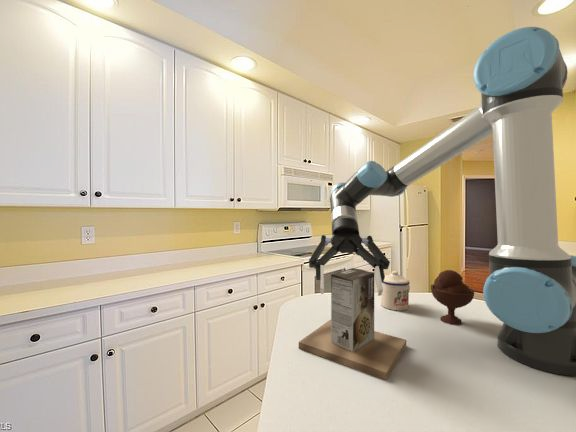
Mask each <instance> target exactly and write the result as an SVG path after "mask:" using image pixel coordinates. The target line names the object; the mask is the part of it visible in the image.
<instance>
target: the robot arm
mask: <svg viewBox="0 0 576 432" xmlns="http://www.w3.org/2000/svg"><path fill="white" fill-rule="evenodd" d="M472 76H473V77H472V78H473V82H474V85H475V88H476V89H477V91H478V92H479V93H481V95H480V96H481V97H480V98H481V100H480V103H479V105H478V106H477V107H476V108H474V109H473V110H471V111H470V112H468V113H467V114H465V115H464V116H463V117H462V118H460V119H459V120H457V121H456V122H454V123H453V124H452V125H450V126H448V127H447V128H446V129H445V130H443V131H442V132H440V133H439V134H437V135H436V136H435V137H433V138H432V139H430V140H428V141H427V142H426V143H425V144H424V145H421V146H420V147H419V148H418V149H416V150H415V151H413V152H412V153H410V154H409V155H407V156H406V157H405V158H404V159H402V160H400V161H399V162H398V163H396V164H395V165H394V166H392V167H391V168H389V169H388V170H385V168H384V166H382V165H381V164H380V163H377V162H376V161H375V160H369V161H367V162H365V163H364V164H363V165H362V166H360V167H359V168H358V169H357V170H356V171H355V172H354V173H353V175H352V176H351V177H349V178H348V179H347V180H346V181H345V182H339V183H337V184H334V185H333V186H332V187H331V189H330V194H329V203H330V214H331V215H330V217H331V218H330V220H331V221H330V222H331V237H327V236H326V235H325V234H322V235H321V237H320V242H319V243H318V245H317V247H316V248H315V250H313V253H312V254H311V256H310V258H309V259H308V267H309V268H311V269H312V268H313V269H315V279H316V281H320V295H324V294H325V277H324V275H325V274H324V273H325V270H324V269H325V267H324V266H325V265H326V264H327V263H329V262H330V260H331V259H332V258H333V257H334V256H336V255H337V254H339V253H340V254H353V253H354V254H355V255H357V256H359V257H360V258H362V259H363V260H364V261H365V262H367V263H368V265H370V266H371V267H372V268H373V269H374V271H373V272H374V282H375V285H376V292H377V293H376V294H377V296H380V297H381V295H382V292H383V286H382V282H383V281H384V279H385V276H386V275H385V271H384V270H388V269H389V266H390V263H391V262H390V260H389V259H388V258H387V256H386V255H385V254H384V253H383V252H382V250H381V249H380V248H379V246H378V245H376V243H375V242H374V240H373V236H371V235H367V236H366V237H365V238H364V237H362V236H361V235H360V229H359V221H358V216H357V215H358V214H357V206H358V205H359V204H360V203H362V202H363V201H364V200H365V199H366V198H367V197H369V196H381V197H391V198H392V197H398V196H400V195H402V194H404V193H405V192H406V190H407V187H408V186H410V185H412V184H413V183H416V182H417V181H418V180H420V179H421V178H424V177H425V176H427V175H428V174H430V173H431V172H433V171H435V170H436V169H438V168H440V167H442V166H443V165H445V164H446V163H448V162H449V161H451V160H453V159H454V158H456V157H458V156H459V155H460V154H462V153H464V152H466V151H468V150H469V149H471V148H472V147H474V146H475V145H477V144H478V143H481V142H482V141H485V140H486V139H487V138H489V137H491V136H492V144H493V145H492V147H493V170H494V186H495V187H494V189H495V190H494V191H495V193H494V194H495V208H496V209H495V211H496V212H495V213H496V214H495V216H496V230H497V231H496V232H497V233H496V235H497V245H496V246H495V247H493V248H492V249H491V250H489V253H488V266H489V270H488V271H489V276H487V278H486V279H485V283H484V285H483V288H482V289H483V290H482V294H483V295H482V296H483V300H484V302H485V304H486V306H487V308H488V309H489V311H490V312H491V313H492V315H494V316H495V318H497V319H498V320H499V321H500V322H502V323H503V324H502V326H501V328H500V329H499V332H498V334H497V348H498V349H499V350H500V351H501V352H502V353H503V354H504V355H506V356H507V357H508V358H510V359H513V360H514V361H516V362H518V363H520V364H523V365H526V366H528V367H531V368H534V369H537V370H540V371H544V372H548V373H551V374H557V375H563V376H571V377H576V255H571V254H569V253H568V252H566V251H565V250H564V249H563V248H561V247H560V245H559V235H558V216H557V211H558V209H557V194H556V193H557V191H556V173H555V172H556V169H555V155H554V135H553V134H554V133H553V117H552V116H553V115H552V114H553V113H554V111H556V109H557V108H558V107H559V106H561V104H562V103H563V102H564V90H563V89H564V87H565V85H566V82H567V80H568V66H567V64H566V62H565V60H564V57H563V55H562V52H561V49H560V42H559V40H558V38H556V36H555V35H553V34H552V33H551V32H550V31H549V30H547V29H545V28H541V27H539V26H525V27H520V28H516V29H513V30H511V31H509V32H506V33H505V34H503V35H501V36H499V37H498V38H496V39H495V40H494V41H493V42H491V43H490V44H489V45H488V46H487V47H486V49H485V50H484V51H483V52H482V54H480V56H479V57H478V58H477V61H476V63H475V65H474V69H473V74H472ZM329 244H331V247H329V249H328V250H327V251H326V252H325V253H323V252H324V251H325V248H326V247H327V246H328V245H329ZM363 244H364V245H363ZM364 246H365V247H367V249H366V248H365V247H364ZM322 253H323V255H322ZM321 255H322V256H321Z"/></svg>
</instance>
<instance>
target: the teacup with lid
mask: <svg viewBox="0 0 576 432" xmlns="http://www.w3.org/2000/svg"><path fill="white" fill-rule="evenodd" d="M382 286H383V292H382V295H381V296H380V305H381V307H383V308H384V307H385V308H384V309H387V310H390V309H391V310H392V311H396V310H397V312H398V311H399V312H400V311H406V310H408V309H409V303H410V302H409V296H410V295H409V293H410V280H409V279H408V278H406V277H404V276H402V275H401V274H399V272H398V271H395V270H393V271H392V270H391V273H389V274H388V275H385V279H384V281H383V282H382ZM391 310H390V311H391Z"/></svg>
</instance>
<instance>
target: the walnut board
mask: <svg viewBox="0 0 576 432" xmlns="http://www.w3.org/2000/svg"><path fill="white" fill-rule="evenodd" d="M406 348H407V339H406V338H401V337H397V336H394V335H390V334H385V333H382V332H379V331H375V330H374V339H373V340H371V341H370V342H368V343H367V344H365V345H363V346H362V347H360V348H359V349H357V350H356V351H354V352H351V351H349V350H347V349H345V348H343V347H341V346H338V345H336V344H334V343H332V342H331V319H329V320H327V321H326V322H325V323H324V324H322V325H320V326H319V327H318V328H317V329H315V330H313V331H312V332H310V333H309V334H308V335H306V336H304V338H302V339H300V340H299V341H298V349H300V350H303V351H306V352H307V353H311V354H313V355H316V356H319V357H322V358H324V359H326V360H329V361H332V362H335V363H338V364H340V365H343V366H345V367H346V366H347V367H348V368H352V369H354V370H357V371H360V372H363V373H365V374H368V375H370V376H373V377H376V378H379V379H382V380H384V381H387V380H388V378H389V377H390V375H391V373H392V371H393V369H394V368H395V366H396V365H397V363H398V361H399V359H400V358H401V356H402V355H403V352H404V351H405V349H406Z"/></svg>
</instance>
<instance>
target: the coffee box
mask: <svg viewBox="0 0 576 432" xmlns="http://www.w3.org/2000/svg"><path fill="white" fill-rule="evenodd" d="M330 280H331V281H330V285H331V286H330V289H331V290H330V291H331V292H330V293H331V295H330V298H331V300H330V304H331V305H330V311H331V313H330V315H331V316H330V320H331V342H332V343H334V344H336V345H338V346H341V347H343V348H345V349H347V350H349V351H351V352H354V351H356V350H357V349H359V348H360V347H362V346H363V345H365V344H367V343H368V342H370V341H371V340H373V339H374V331H375V275H374V271H373V272H372V271H368V270H364V269H361V268H360V269H359V268H355V267H352V268H348V269H344V270H341V271H338V272H334V273H331V274H330Z"/></svg>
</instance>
